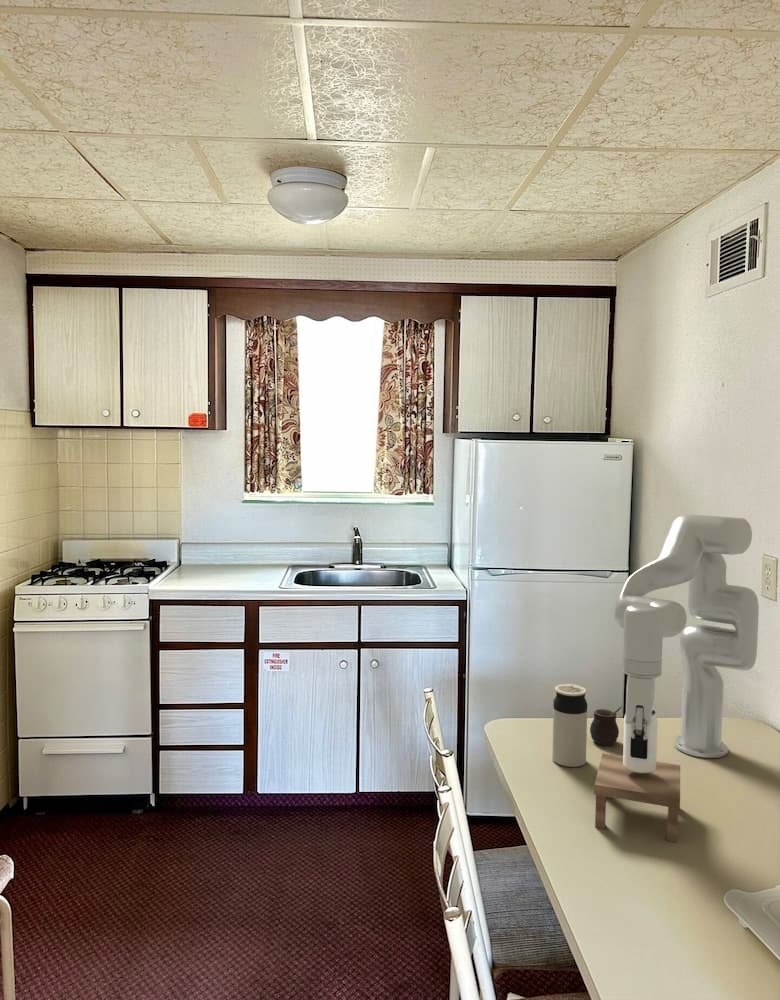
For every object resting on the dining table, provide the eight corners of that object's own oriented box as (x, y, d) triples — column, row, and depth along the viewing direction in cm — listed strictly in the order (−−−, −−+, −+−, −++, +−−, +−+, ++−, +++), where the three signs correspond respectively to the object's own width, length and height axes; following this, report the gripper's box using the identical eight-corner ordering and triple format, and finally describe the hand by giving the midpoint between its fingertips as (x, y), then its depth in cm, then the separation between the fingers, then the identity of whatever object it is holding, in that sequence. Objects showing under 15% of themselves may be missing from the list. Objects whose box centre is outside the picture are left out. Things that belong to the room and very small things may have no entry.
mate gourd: (587, 735, 195) (589, 699, 194) (617, 737, 194) (618, 700, 193) (591, 746, 188) (592, 708, 187) (621, 749, 187) (623, 710, 186)
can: (658, 775, 148) (660, 717, 147) (624, 772, 150) (626, 715, 149) (653, 762, 155) (655, 706, 154) (621, 759, 156) (622, 704, 155)
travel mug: (580, 771, 174) (581, 696, 173) (547, 763, 178) (549, 690, 177) (590, 758, 181) (591, 687, 179) (558, 751, 185) (560, 681, 184)
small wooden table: (601, 792, 163) (602, 753, 163) (678, 805, 157) (680, 765, 157) (593, 827, 148) (594, 784, 148) (678, 843, 143) (680, 798, 142)
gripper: (625, 652, 160) (623, 732, 161) (619, 676, 144) (617, 765, 145) (662, 656, 157) (660, 737, 159) (660, 680, 141) (657, 771, 143)
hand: (639, 750), depth 152 cm, fingers closed on can, 6 cm apart
